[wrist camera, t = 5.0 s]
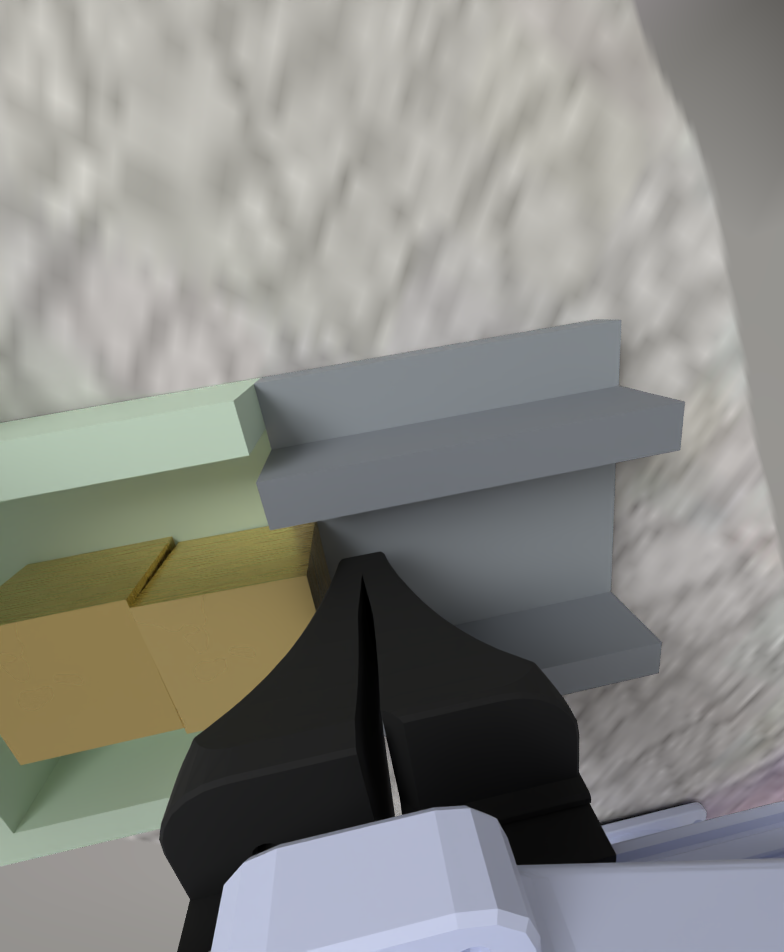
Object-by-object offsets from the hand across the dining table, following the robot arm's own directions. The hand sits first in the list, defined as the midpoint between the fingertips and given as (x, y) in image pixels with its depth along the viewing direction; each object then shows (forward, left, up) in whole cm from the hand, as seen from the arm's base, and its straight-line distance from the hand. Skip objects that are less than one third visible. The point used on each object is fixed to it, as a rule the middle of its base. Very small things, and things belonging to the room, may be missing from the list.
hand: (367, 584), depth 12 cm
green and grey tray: (0, +2, -2) cm, 3 cm away
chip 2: (0, +3, -1) cm, 3 cm away
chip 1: (0, +7, -1) cm, 7 cm away
